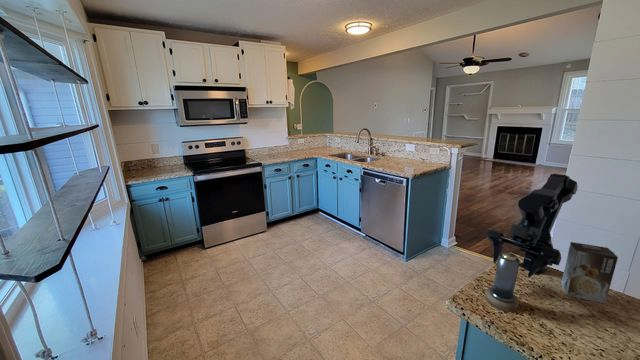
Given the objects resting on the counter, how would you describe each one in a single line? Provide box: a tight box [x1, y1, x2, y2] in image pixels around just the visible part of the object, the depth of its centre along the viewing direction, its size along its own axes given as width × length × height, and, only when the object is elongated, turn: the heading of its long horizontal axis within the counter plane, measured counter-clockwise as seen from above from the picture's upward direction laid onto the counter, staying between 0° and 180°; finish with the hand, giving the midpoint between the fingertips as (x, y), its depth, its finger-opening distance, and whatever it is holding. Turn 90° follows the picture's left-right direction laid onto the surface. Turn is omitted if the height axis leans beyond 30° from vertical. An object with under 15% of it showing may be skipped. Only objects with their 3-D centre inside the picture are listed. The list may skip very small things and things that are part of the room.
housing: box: [490, 251, 521, 303], centre depth 80 cm, size 6×6×14 cm
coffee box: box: [560, 241, 619, 304], centre depth 83 cm, size 9×6×16 cm
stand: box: [484, 286, 519, 312], centre depth 82 cm, size 8×8×2 cm
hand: (510, 269), depth 82 cm, fingers open, 9 cm apart
